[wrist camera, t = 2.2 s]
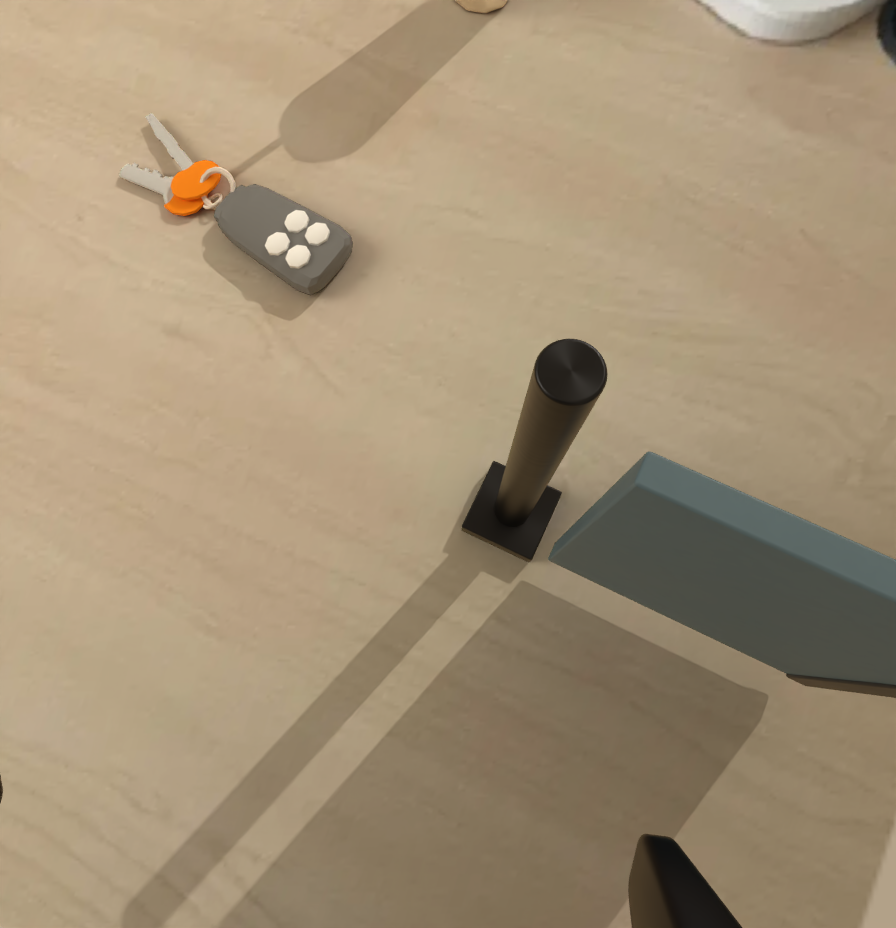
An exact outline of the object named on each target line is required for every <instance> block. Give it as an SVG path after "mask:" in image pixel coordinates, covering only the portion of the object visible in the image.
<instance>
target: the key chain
mask: <svg viewBox="0 0 896 928" xmlns="http://www.w3.org/2000/svg"><path fill="white" fill-rule="evenodd" d="M145 117H146V119H147V120H148V122H149V124H150V125H151V127H152V128H153V130H154V134H155V135H156V137H157V138H158V139H159V141H161V142H162V143H163V144H164V146H165V147H166V148H167V151H168V153H169V154H170V156H171V157H172V158H173V159H175V160H176V162H177V163H178V165H179V166H180V167H181V169H182V170H183V171H181V172H178V173H177V174H176V176H175V177H172V176H170V177H167V176H165V177H164V178H162V174H160V173H159V171H158V170H155V169H154V171H153V172H152V173H150V169H148V168H145V169H144V170H142V169H140V168H137V167H138V166H139V165H138V164H136V163H133V164H132V165H130V164H127V165H125V166H124V167H123V168H121V171H120V174H119V177H121V178H123V179H125V180H128V181H130V182H132V183H135V184H137V185H140V186H142V187H144V188H147V189H149V190H152V191H154V192H156V193H159V194H161V195H163V197H164V201H165V205H164V207H165V208H166V209H167V210H169V211H170V212H171V213H172V214H175V215H182V216H186V215H190V214H193V213H196V212H197V211H199V210H200V209H201V208H202V207H203V208H205V209H213V210H215V213H214V217H215V219H216V221H217V222H218V225H219V227H220V229H221V230H222V232H223V233H224V234H225V235H226V236H227V238H228V239H229V240H230V241H231V242H232V243H234V244H235V245H236V246H238V247H239V248H240V249H242V250H243V251H244V252H246V253H247V254H248V255H250V256H251V257H252V258H254V259H255V260H256V261H258V262H259V263H260V264H262V265H263V266H264V267H266V268H267V269H269V270H270V271H271V272H273V273H274V274H276V275H277V276H278V277H280V278H281V279H282V280H284V281H285V282H287V283H288V284H289V285H291V286H292V287H293V288H295V289H296V290H298V291H301V292H304V293H306V294H309V295H311V294H313V293H316V292H318V291H320V290H321V289H323V288H324V287H325V286H326V285H327V284H328V283H329V282H330V281H331V279H332V278H333V277H334V276H335V275H336V274H337V273H338V271H339V270H340V269H341V267H342V266H343V265H344V263H345V262H346V261H347V259H348V257H349V256H350V254H351V251H352V246H353V242H352V238H351V235H349V234H348V233H347V232H346V231H345V230H344V229H343V228H342V227H341V226H339V225H337V224H336V223H334V222H332V221H330V220H328V219H326V218H324V217H322V216H320V215H318V214H317V213H315V212H313V211H311V210H309V209H307V208H305V207H303V206H301V205H299V204H297V203H296V202H294V201H292V200H290V199H288V198H286V197H284V196H282V195H280V194H278V193H276V192H274V191H272V190H270V189H268V188H265V187H262V186H259V185H256V184H253V185H250V186H246V187H245V186H243V185H241V186H239V187H237V188H236V185H235V181H234V179H233V177H232V175H231V173H229V172H228V171H227V170H226V169H224V168H221V167H219V166H218V165H217V164H215V163H214V162H213V161H207V160H203V161H198V162H195V163H194V164H193V163H192V161H191V160H190V159H189V157H188V156H187V155H186V153H185V152H184V151H182V150H181V149H180V147H179V144H178V143H177V141H176V140H175V139H174V137H173V136H172V135H171V133H168V131H167V130H166V129H165V127H164V126H163V125H162V124H161V123H160V121H159V120H158V119H157V118H156V117H155V116H154V115H153V114H152V113H150V115H147V116H145ZM221 174H223V175H224V176H225V177H226V178H227V179H228V181H229V183H230V190H231V191H230V193H229V194H228V195H227V196H226V197H225V199H224V200H223V195H222V194H220V193H217V194H214V195H212V196H210V197H209V198H207V197H208V193H209V192H211V191H212V190H213V189H215V187H216V186H217V184H218V183H219V182H220V178H221ZM216 197H220V198H219V199H218V200H217V201H216V202H215V203H212V202H211V200H212V199H214V198H216ZM222 200H223V201H222ZM206 205H207V206H206Z"/></svg>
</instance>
